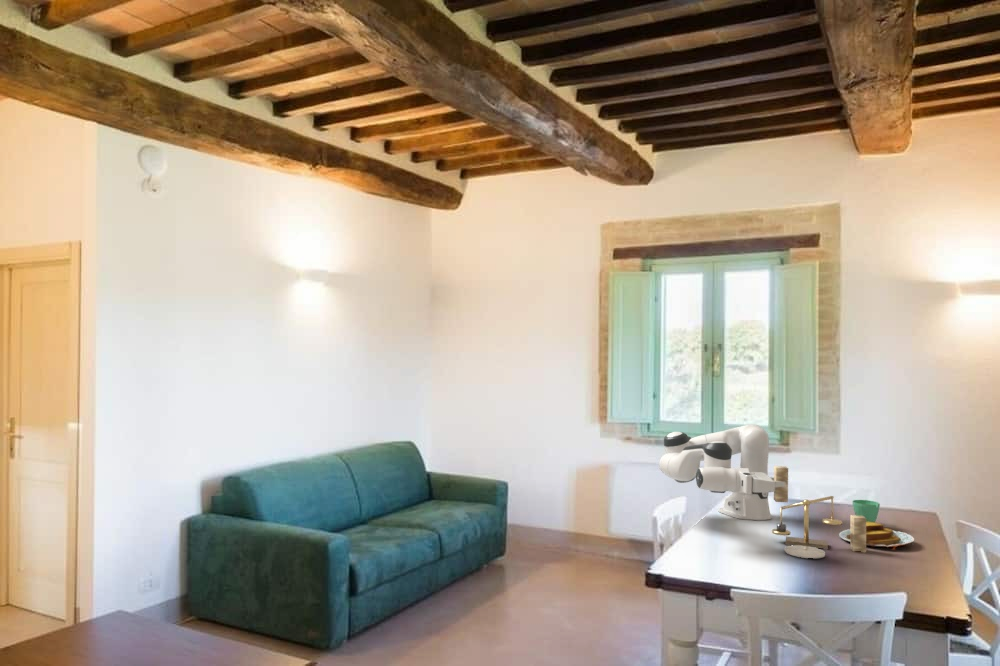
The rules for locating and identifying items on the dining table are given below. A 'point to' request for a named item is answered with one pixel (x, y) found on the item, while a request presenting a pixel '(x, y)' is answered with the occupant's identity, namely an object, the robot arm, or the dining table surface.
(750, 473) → the robot arm
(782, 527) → the balance
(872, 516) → the mug
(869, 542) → the food on plate
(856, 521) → the column
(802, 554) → the dish
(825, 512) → the dining table surface
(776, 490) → the column
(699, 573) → the dining table surface
